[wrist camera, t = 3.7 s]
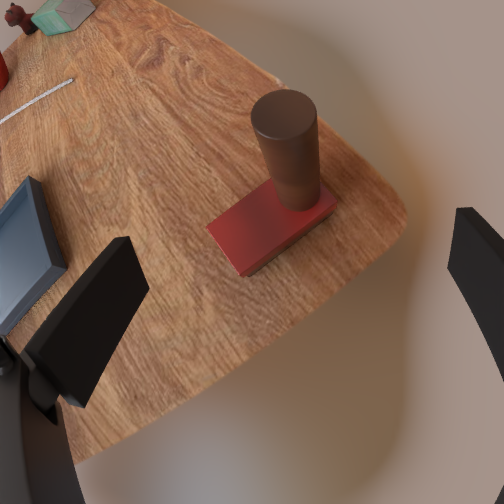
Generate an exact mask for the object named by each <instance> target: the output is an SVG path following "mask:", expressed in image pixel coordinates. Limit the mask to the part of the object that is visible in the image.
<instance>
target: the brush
mask: <svg viewBox="0 0 504 504" xmlns="http://www.w3.org/2000/svg"><path fill="white" fill-rule="evenodd" d="M73 81H74V79H73V78H70V79H69V80H67V81H65V82H63V83H61V84H59V85H57V86H55V87H53V88H52V89H50V90H48V91H46V92H44V93H43V94H41V95H39V96H37V97H36V98H34V99H32V100H31V101H29V102H27V103H26V104H24V105H23V106H21V107H19V108H18V109H16V110H15V111H13V112H12V113H10V114H9V115H7V116H6V117H4V118H3V119H1V120H0V124H1V123H3V122H4V121H6V120H7V119H9V118H10V117H12V116H13V115H15V114H16V113H18V112H19V111H21V110H23V109H24V108H26V107H27V106H29V105H31V104H32V103H34V102H36V101H38V100H39V99H41V98H43V97H44V96H46V95H48V94H50V93H52V92H53V91H55V90H57V89H59V88H61V87H63V86H65V85H67V84H69V83H71V82H73Z"/></svg>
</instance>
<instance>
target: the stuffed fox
mask: <svg viewBox="0 0 504 504" xmlns="http://www.w3.org/2000/svg"><path fill="white" fill-rule="evenodd" d="M6 12H7V13H6V14H5V20H6V21H7V22H8V25H9V26H11V27H13V26H15V25H19V26H20V27H21V28H22V29H23V31H24V32H25V34H26V35H29V34H31V33H33V32H34V31H35V30H37V29H38V27H37V26H36V25H35V24H34V23H33V22H32V21H31V17H32V16H33V15H34V14H35V13H32V14H26V13H25V12H24V9H23V8H22V7H21V6H17V5H15V4H14V3H11V7H10V9H9V10H7V11H6Z"/></svg>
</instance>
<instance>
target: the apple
mask: <svg viewBox="0 0 504 504" xmlns="http://www.w3.org/2000/svg"><path fill="white" fill-rule="evenodd" d="M8 75H9V72H8V69H7V66H6V64H5V61H4V59H3V56H2V54H1V52H0V91H1V90H2V89H3V88H4V87H5V85H6V84H7V82H8Z"/></svg>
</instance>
